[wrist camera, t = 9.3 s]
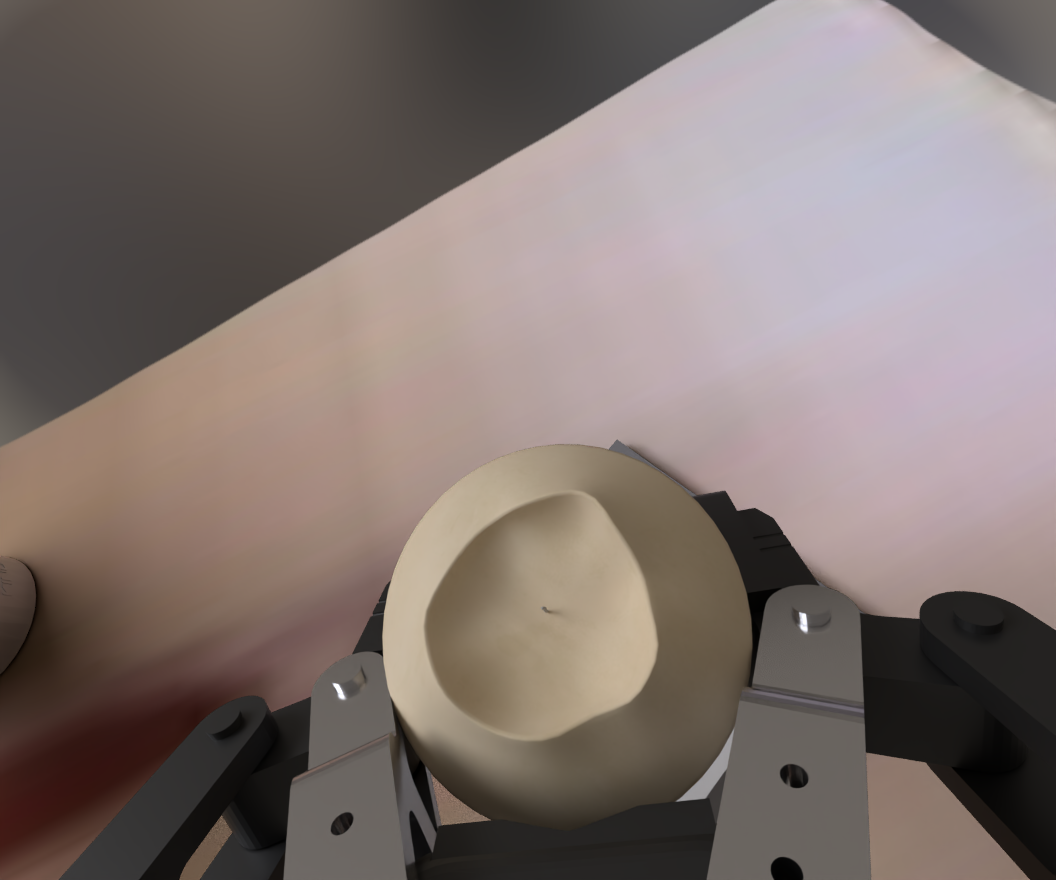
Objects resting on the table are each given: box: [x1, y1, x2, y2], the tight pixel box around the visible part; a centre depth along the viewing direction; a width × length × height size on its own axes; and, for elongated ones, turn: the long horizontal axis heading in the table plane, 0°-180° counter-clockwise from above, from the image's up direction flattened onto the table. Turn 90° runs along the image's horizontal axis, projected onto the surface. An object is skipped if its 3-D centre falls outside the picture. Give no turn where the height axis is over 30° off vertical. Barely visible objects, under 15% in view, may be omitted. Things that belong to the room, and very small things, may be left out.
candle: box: [382, 444, 752, 831], centre depth 11 cm, size 6×6×10 cm
